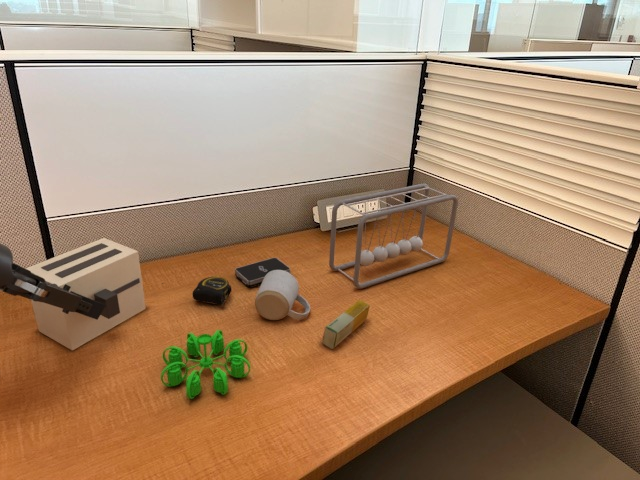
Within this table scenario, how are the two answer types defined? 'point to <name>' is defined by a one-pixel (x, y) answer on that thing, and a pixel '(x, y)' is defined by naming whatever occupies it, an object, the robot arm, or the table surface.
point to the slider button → (108, 302)
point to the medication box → (345, 324)
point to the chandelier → (205, 363)
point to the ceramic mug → (279, 296)
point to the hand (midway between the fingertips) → (98, 311)
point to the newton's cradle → (391, 248)
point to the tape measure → (212, 290)
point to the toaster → (90, 289)
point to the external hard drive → (259, 271)
